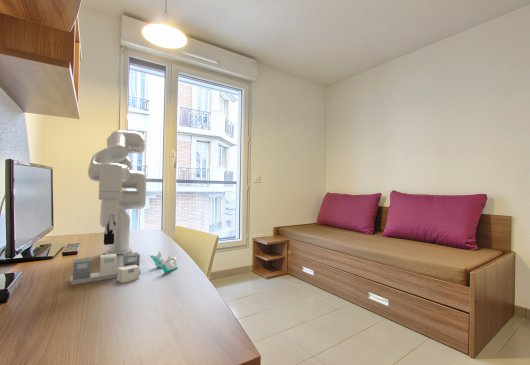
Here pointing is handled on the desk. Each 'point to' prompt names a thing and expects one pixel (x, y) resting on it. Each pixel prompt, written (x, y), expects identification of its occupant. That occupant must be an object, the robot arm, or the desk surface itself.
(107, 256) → the block
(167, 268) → the jawbone
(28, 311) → the desk surface
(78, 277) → the rail
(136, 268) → the block
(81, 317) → the desk surface
